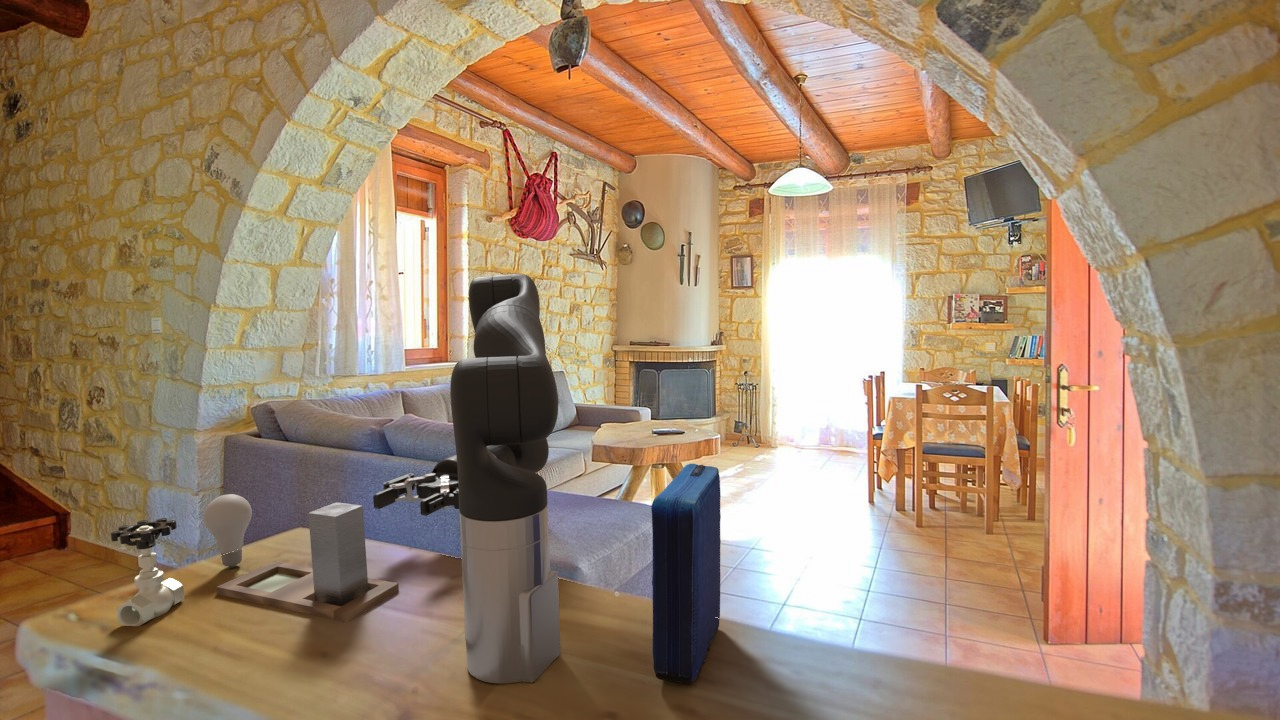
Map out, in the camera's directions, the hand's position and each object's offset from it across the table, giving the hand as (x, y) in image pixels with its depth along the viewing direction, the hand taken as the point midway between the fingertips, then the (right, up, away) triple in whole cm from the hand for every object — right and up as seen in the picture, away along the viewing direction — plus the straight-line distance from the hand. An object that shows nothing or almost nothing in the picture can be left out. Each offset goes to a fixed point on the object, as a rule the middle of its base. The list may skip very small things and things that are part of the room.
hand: (398, 505), depth 98 cm
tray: (-9, -11, -7) cm, 16 cm away
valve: (-27, -12, -12) cm, 31 cm away
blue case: (+40, -12, -23) cm, 48 cm away
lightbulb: (-26, -10, +4) cm, 28 cm away
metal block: (-4, -10, -10) cm, 14 cm away
